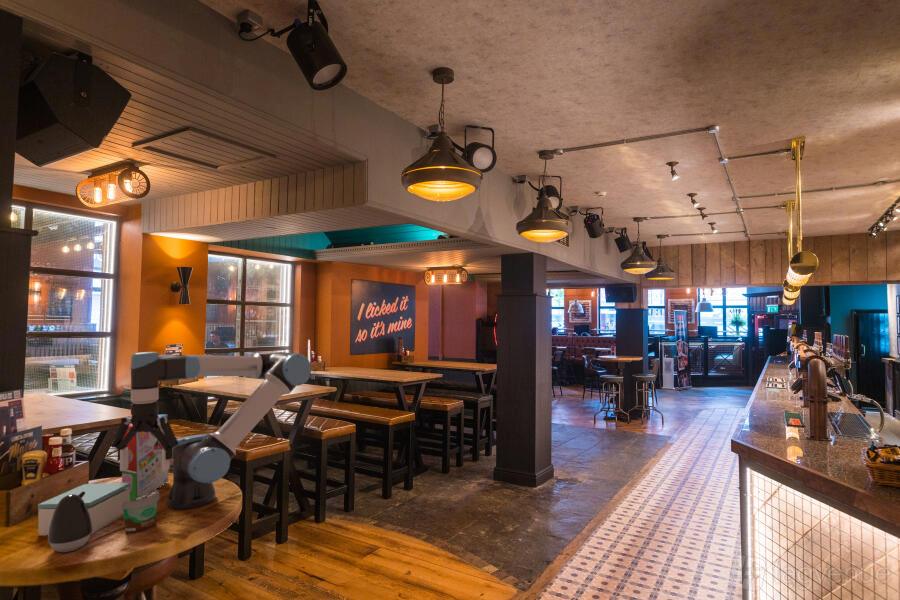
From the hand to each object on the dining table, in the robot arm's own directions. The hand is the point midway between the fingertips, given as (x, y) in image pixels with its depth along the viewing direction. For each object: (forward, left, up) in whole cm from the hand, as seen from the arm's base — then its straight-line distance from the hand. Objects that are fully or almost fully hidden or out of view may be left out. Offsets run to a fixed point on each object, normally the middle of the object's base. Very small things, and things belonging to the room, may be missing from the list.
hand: (145, 469), depth 160 cm
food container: (0, 0, -18) cm, 18 cm away
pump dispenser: (+13, +14, -18) cm, 26 cm away
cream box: (+22, -3, -18) cm, 28 cm away
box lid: (+22, -3, -10) cm, 24 cm away
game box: (+21, -31, -18) cm, 42 cm away
